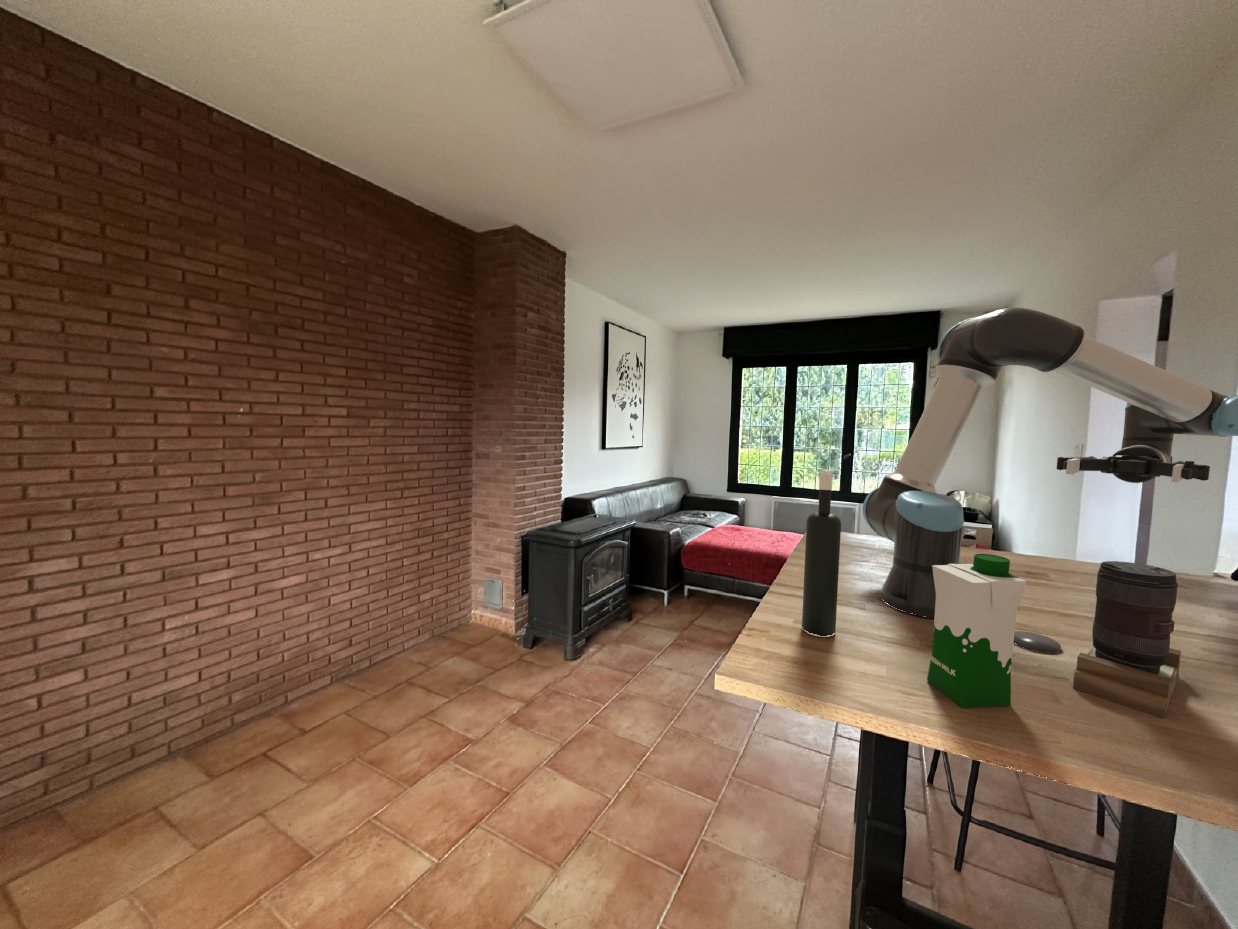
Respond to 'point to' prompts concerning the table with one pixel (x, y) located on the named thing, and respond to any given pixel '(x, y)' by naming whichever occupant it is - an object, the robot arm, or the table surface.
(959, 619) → the milk carton
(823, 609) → the wine bottle
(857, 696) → the table surface
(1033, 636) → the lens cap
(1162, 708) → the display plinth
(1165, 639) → the camera lens
